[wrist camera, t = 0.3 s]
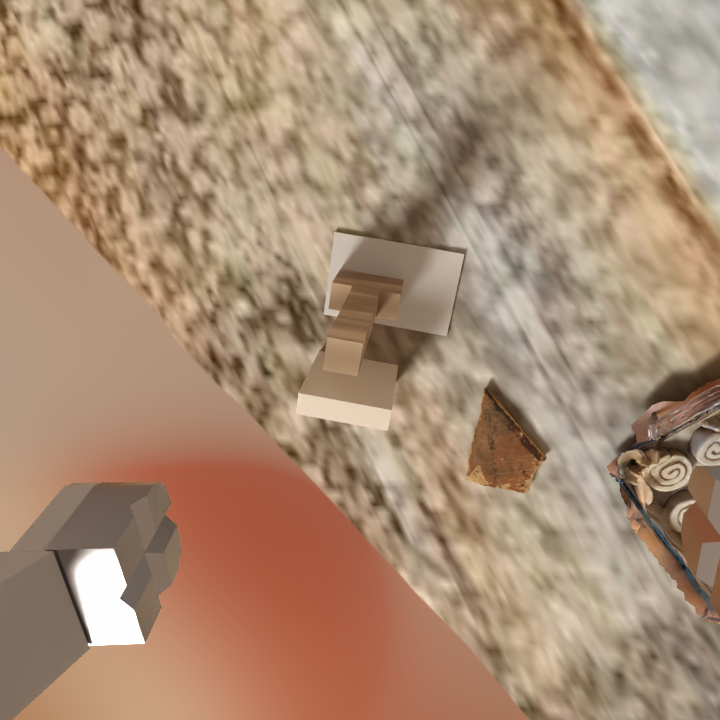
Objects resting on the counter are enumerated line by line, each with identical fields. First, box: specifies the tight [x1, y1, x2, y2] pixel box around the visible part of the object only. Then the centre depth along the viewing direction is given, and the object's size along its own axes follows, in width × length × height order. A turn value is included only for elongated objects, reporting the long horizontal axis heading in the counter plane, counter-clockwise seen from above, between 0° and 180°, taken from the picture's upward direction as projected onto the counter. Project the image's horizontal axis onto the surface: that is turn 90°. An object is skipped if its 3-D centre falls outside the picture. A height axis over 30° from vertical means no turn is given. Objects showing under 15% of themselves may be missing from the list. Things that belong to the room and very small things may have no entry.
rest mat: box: [324, 231, 464, 336], centre depth 56 cm, size 8×12×1 cm, turn 82°
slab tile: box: [296, 351, 398, 431], centre depth 56 cm, size 2×8×10 cm, turn 82°
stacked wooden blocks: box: [323, 269, 404, 376], centre depth 48 cm, size 2×6×18 cm, turn 82°
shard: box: [466, 388, 546, 493], centre depth 61 cm, size 11×8×2 cm
